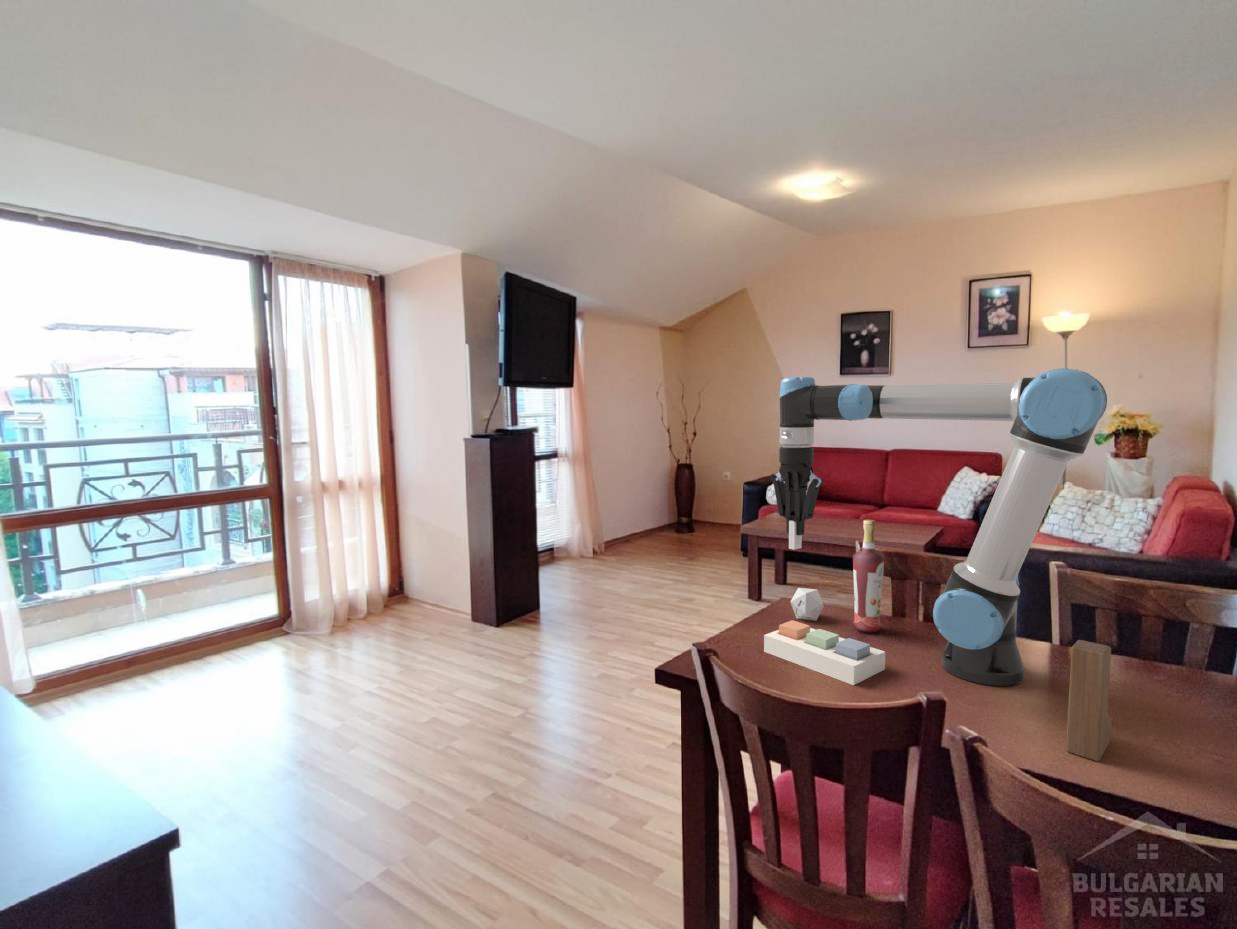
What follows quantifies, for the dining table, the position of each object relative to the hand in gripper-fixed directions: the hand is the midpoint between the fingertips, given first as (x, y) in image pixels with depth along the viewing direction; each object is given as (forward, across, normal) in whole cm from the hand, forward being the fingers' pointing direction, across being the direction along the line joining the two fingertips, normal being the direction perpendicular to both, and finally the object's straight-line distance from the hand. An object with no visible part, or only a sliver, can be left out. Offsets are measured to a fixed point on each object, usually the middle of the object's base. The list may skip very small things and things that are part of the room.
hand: (795, 548), depth 145 cm
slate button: (+21, +15, 0) cm, 26 cm away
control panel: (+24, +8, 0) cm, 25 cm away
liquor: (+25, +4, +25) cm, 35 cm away
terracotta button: (+21, 0, 0) cm, 21 cm away
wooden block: (+24, +57, +3) cm, 62 cm away
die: (+25, -11, +21) cm, 34 cm away
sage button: (+21, +8, 0) cm, 23 cm away
